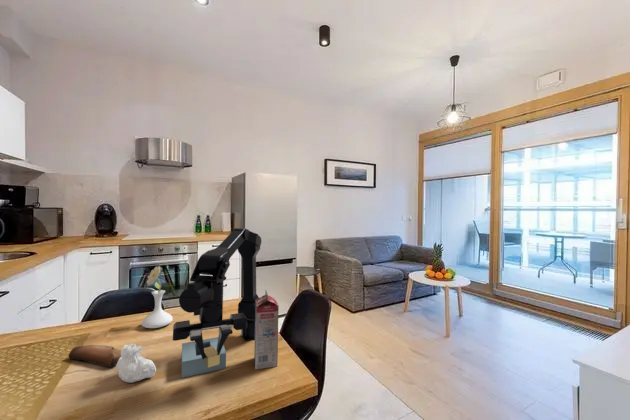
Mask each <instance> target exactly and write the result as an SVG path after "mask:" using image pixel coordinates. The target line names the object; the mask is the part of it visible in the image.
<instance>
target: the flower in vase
mask: <svg viewBox="0 0 630 420" xmlns="http://www.w3.org/2000/svg"><path fill="white" fill-rule="evenodd" d="M160 273H161V266H159V265H158V266H155V267H154V268H153V269H152V270H151V271H150V273H149V275H148V276H147V281H146V284H147V286H150V285H152V284H153V283H154V282H155V281H156V280H157V281H156V282H155V284H154V287H155V288H156V289H158V290H153V291H151V294H152V295H153V297H154V309H153V311H152V312H151V313H149V314H148V315H147V316H146V317H144V319H143V320H141V323H140V325H141V326H142V327H143V328H145V329H146V328H147V329H158V328H163V327H164V326H165V327H166V326H167V325H169V324H171V323H172V322H173V320H174V317H173V316H172V315H171V314H170V313H168V312H166V311H165V310H163V308H162V300H163V299H162V298H163V296H164V294H165V293H166V290H164V289H161V288H162V284H161V281H160V278H159V275H160Z"/></svg>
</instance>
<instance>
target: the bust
mask: <svg viewBox="0 0 630 420" xmlns="http://www.w3.org/2000/svg"><path fill="white" fill-rule="evenodd" d="M121 350H122V351H121V357H120V358H119V360H118V363H117V365H116V367H115V368H117V371H118V377H119V378H120V379H121V380H122V381H123V382H125V383H128V384H129V383H130V384H133V383H136V382H140V381H141V380H143V379H149V378H152V377H154V376H155V374H156V372H157V368H156V367H157V366H156V365H155V363H154V362H153V360H151V359H147V358H145V357H144V356H142V355H141V354H140V353H141V351H142V350H144V349H143V346H142V345H136V344H135V343H129V344H124V345H123V346H122V347H121Z"/></svg>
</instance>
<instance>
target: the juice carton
mask: <svg viewBox="0 0 630 420" xmlns="http://www.w3.org/2000/svg"><path fill="white" fill-rule="evenodd" d="M278 346H279V304H278V301H277V299H276V298H275V297H273V296H271V295H269V294H268V292H267V290H265V294H264V295H262V296H259V298H258V299H257V300H256V307H255V339H254V351H253V352H254V354H253V357H254V369H255V370H261V369H265V368H275V367H276V368H277V367H278V355H279V354H278V349H279V347H278Z"/></svg>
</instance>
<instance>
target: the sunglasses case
mask: <svg viewBox="0 0 630 420" xmlns="http://www.w3.org/2000/svg"><path fill="white" fill-rule="evenodd" d="M121 351H122V349H118V348H115V347H114V346H110V345H104V344H103V345H100V344H83V345H79V346H75V347H74V348H72V349H71V351H70V352H69V354H68V358H69V360H70V359H71V360H77V361H79V360H80V361H85V362H88V363H93V364H96V365H99V366H100V365H101V366H105V367H109V368H111V369H114V368H117V367H116V365H117V363H118V360H119V358H120V357H121Z"/></svg>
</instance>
